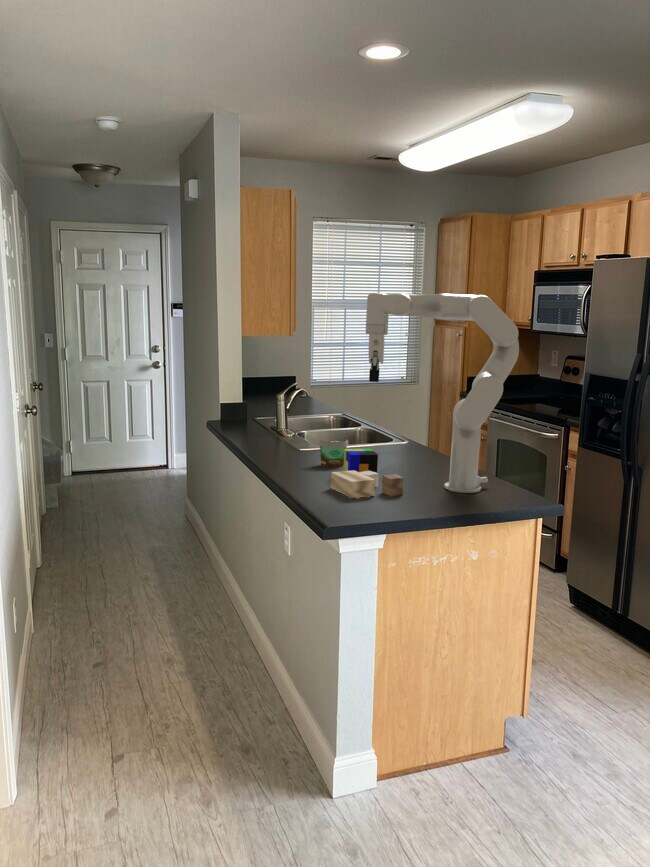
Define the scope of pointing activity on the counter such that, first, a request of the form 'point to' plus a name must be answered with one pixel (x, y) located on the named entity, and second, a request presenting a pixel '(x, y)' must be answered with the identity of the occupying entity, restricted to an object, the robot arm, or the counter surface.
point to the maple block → (353, 484)
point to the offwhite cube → (372, 476)
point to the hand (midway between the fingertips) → (374, 380)
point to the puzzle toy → (360, 460)
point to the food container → (332, 452)
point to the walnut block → (392, 485)
